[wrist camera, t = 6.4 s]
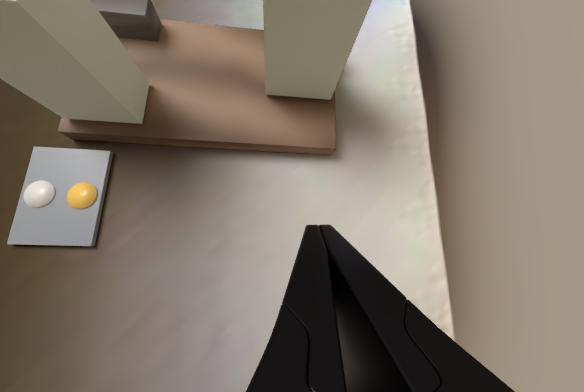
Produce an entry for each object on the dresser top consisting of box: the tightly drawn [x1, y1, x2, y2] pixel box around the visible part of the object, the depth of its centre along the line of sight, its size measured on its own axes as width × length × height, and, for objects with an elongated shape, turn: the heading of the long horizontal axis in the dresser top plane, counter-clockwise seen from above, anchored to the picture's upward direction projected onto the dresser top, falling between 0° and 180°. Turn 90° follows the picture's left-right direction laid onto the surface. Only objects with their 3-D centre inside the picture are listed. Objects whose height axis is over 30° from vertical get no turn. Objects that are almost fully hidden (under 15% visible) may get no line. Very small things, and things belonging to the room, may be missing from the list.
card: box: [7, 147, 113, 246], centre depth 19 cm, size 8×6×1 cm
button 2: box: [0, 0, 150, 124], centre depth 14 cm, size 4×6×11 cm, turn 89°
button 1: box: [263, 0, 372, 100], centre depth 17 cm, size 4×6×11 cm, turn 89°
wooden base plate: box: [58, 0, 336, 155], centre depth 21 cm, size 12×23×4 cm, turn 89°
